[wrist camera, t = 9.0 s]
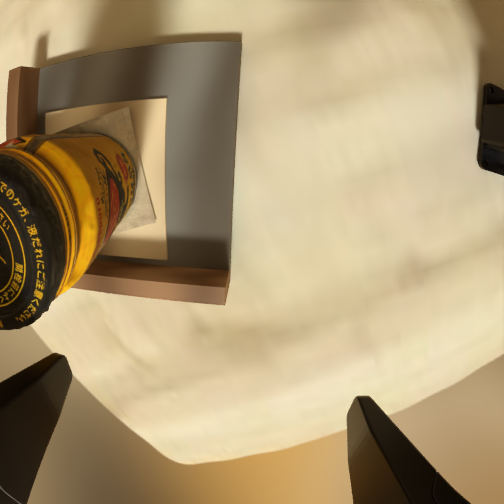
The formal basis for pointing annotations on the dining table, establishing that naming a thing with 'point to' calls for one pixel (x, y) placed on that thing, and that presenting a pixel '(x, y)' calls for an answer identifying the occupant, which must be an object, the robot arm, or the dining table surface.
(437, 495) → the robot arm
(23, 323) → the condiment
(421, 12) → the dining table surface
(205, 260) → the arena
